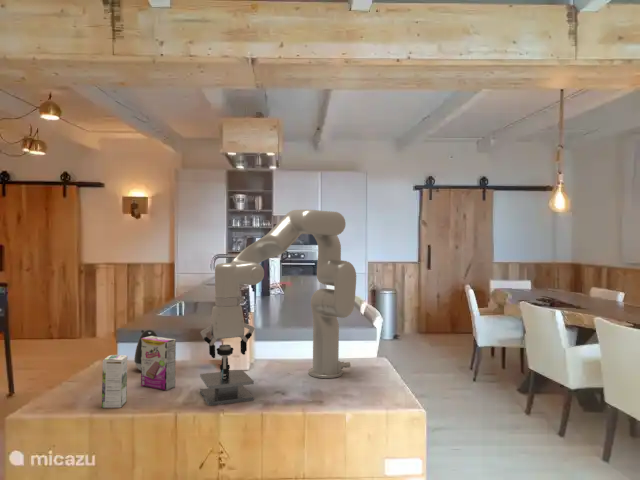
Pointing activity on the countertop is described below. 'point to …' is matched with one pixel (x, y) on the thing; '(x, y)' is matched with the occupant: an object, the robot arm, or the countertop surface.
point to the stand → (226, 387)
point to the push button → (225, 359)
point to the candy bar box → (158, 362)
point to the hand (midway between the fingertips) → (228, 355)
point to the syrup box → (114, 381)
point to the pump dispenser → (138, 348)
